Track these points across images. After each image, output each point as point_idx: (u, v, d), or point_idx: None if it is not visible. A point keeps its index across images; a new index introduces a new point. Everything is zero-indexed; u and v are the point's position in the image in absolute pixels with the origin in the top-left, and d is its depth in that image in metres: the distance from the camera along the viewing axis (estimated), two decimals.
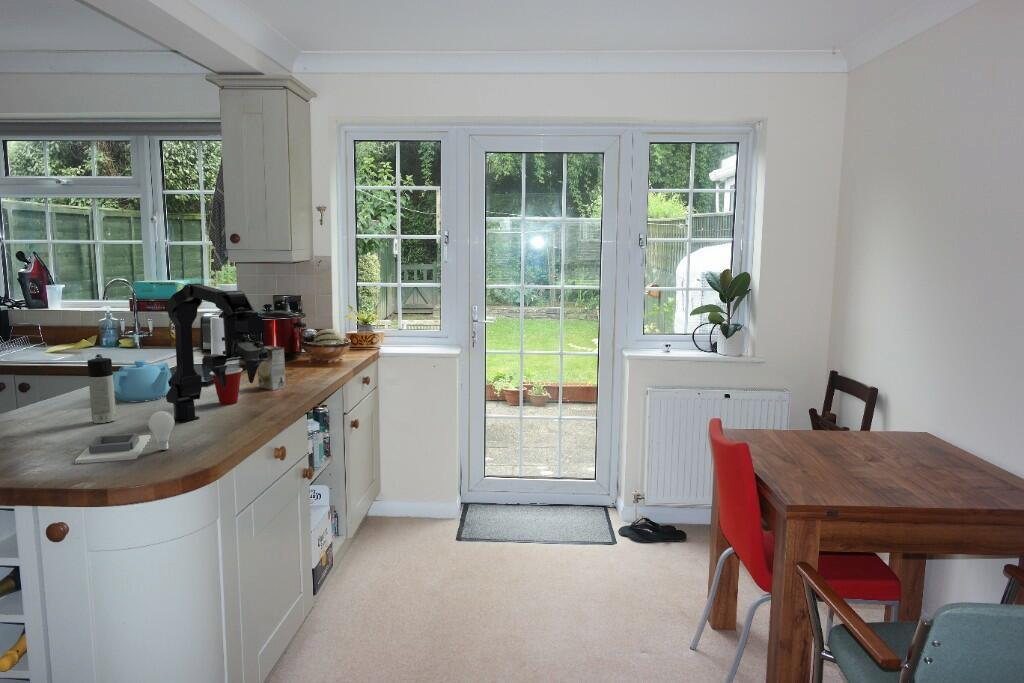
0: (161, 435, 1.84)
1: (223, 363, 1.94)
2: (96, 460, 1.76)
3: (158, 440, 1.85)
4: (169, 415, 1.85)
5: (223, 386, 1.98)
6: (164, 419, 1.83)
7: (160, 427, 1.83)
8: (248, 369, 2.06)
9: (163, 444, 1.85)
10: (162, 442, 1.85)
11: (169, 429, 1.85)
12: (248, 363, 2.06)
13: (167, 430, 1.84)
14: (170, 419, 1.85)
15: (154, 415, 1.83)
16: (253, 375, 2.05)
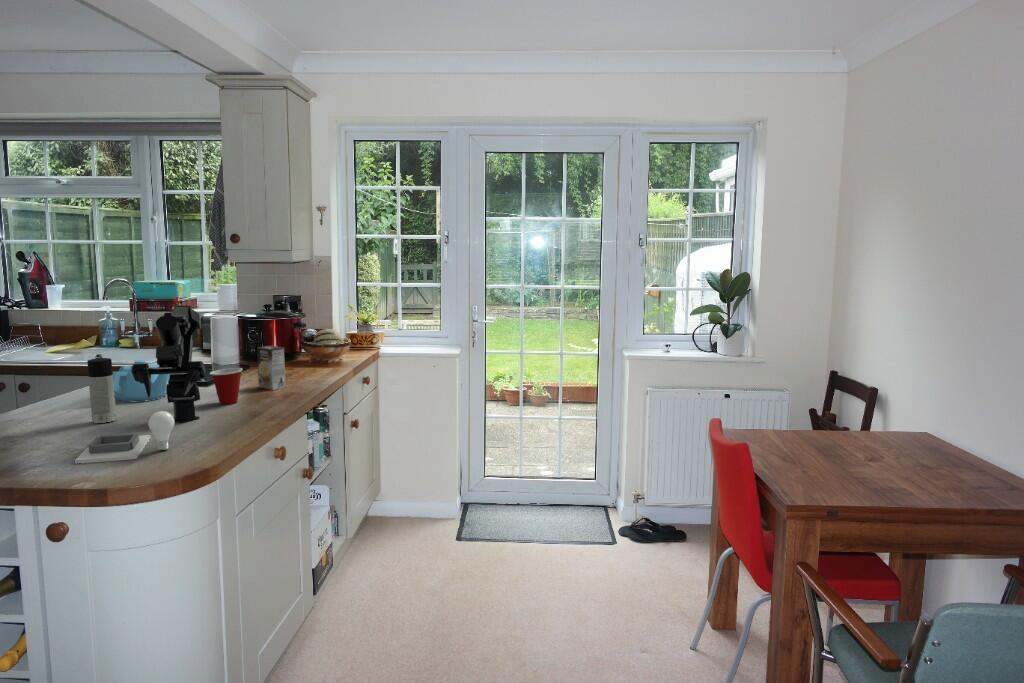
0: (161, 435, 1.84)
1: (142, 367, 1.93)
2: (96, 460, 1.76)
3: (158, 440, 1.85)
4: (169, 415, 1.85)
5: (147, 394, 1.91)
6: (164, 419, 1.83)
7: (160, 427, 1.83)
8: None
9: (163, 444, 1.85)
10: (162, 442, 1.85)
11: (169, 429, 1.85)
12: None
13: (167, 430, 1.84)
14: (170, 419, 1.85)
15: (154, 415, 1.83)
16: (185, 386, 1.94)
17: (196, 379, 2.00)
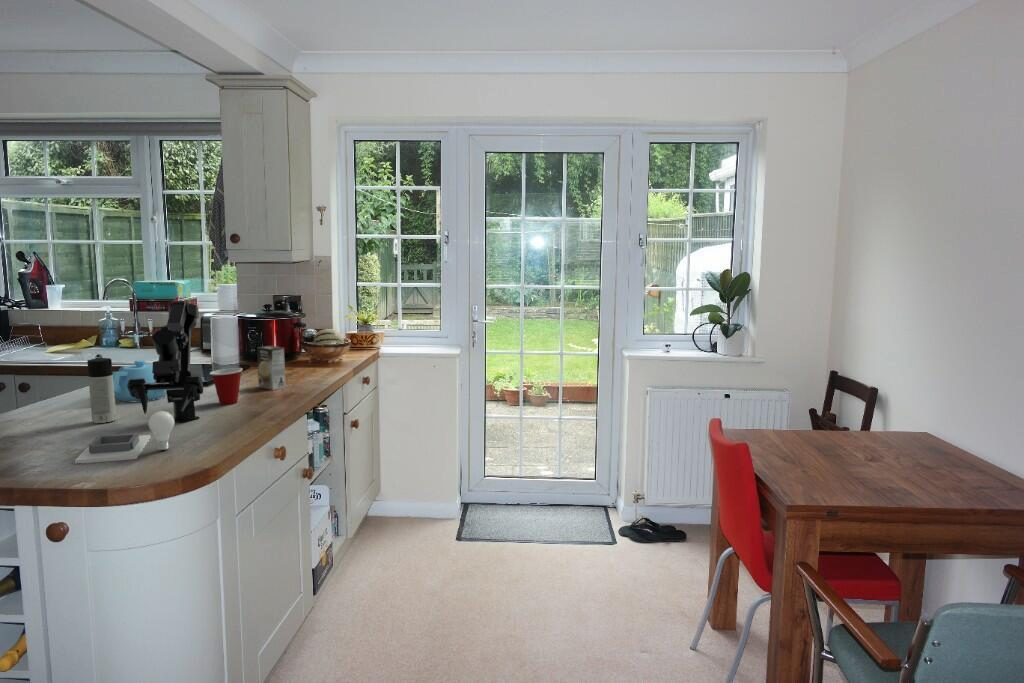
0: (161, 435, 1.84)
1: (138, 383, 1.88)
2: (96, 460, 1.76)
3: (158, 440, 1.85)
4: (169, 415, 1.85)
5: (143, 410, 1.87)
6: (164, 419, 1.83)
7: (160, 427, 1.83)
8: None
9: (163, 444, 1.85)
10: (162, 442, 1.85)
11: (169, 429, 1.85)
12: None
13: (167, 430, 1.84)
14: (170, 419, 1.85)
15: (154, 415, 1.83)
16: (182, 401, 1.90)
17: (194, 394, 1.95)
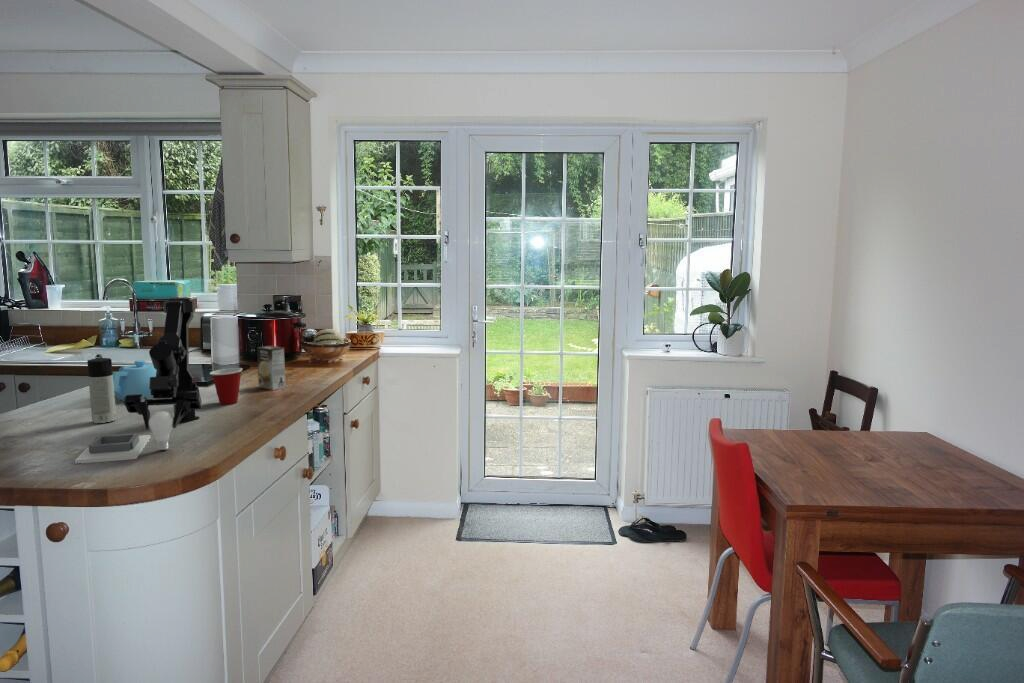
0: (161, 435, 1.84)
1: (135, 399, 1.85)
2: (96, 460, 1.76)
3: (158, 440, 1.85)
4: (169, 415, 1.85)
5: None
6: (164, 419, 1.83)
7: (160, 427, 1.83)
8: None
9: (163, 444, 1.85)
10: (162, 442, 1.85)
11: (169, 429, 1.85)
12: None
13: (167, 430, 1.84)
14: (170, 419, 1.85)
15: (154, 415, 1.83)
16: (175, 418, 1.86)
17: (187, 410, 1.91)
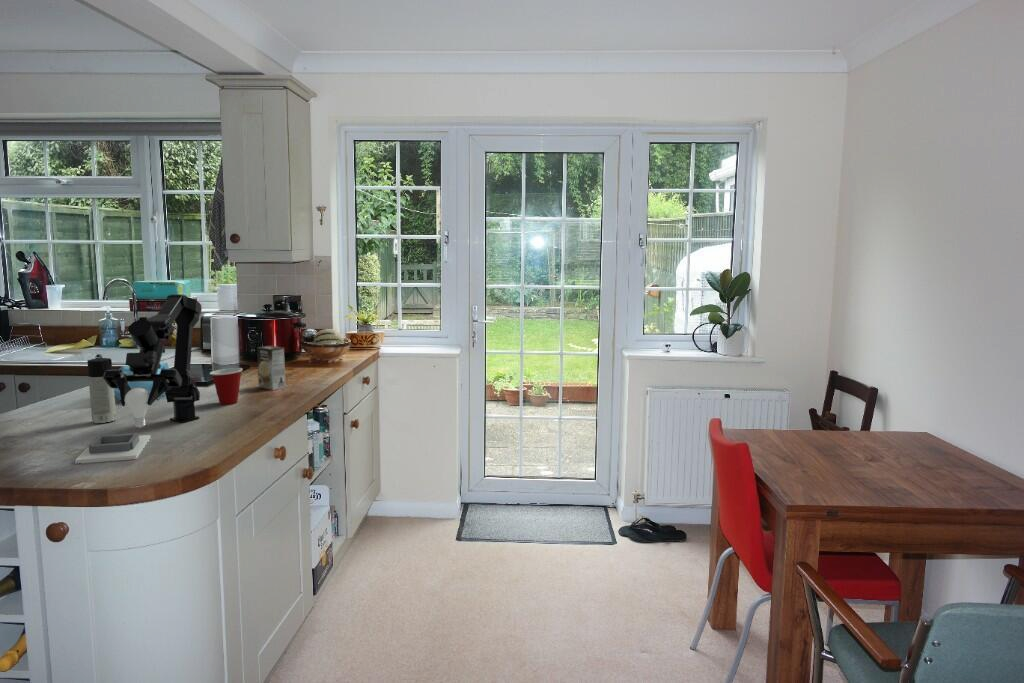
0: (136, 412, 1.83)
1: (113, 374, 1.84)
2: (96, 460, 1.76)
3: (134, 417, 1.83)
4: (144, 392, 1.83)
5: None
6: (138, 395, 1.81)
7: (134, 403, 1.81)
8: None
9: (139, 421, 1.84)
10: (138, 419, 1.84)
11: (144, 406, 1.83)
12: None
13: (141, 407, 1.82)
14: (144, 396, 1.82)
15: (129, 391, 1.82)
16: (150, 395, 1.84)
17: (166, 388, 1.89)
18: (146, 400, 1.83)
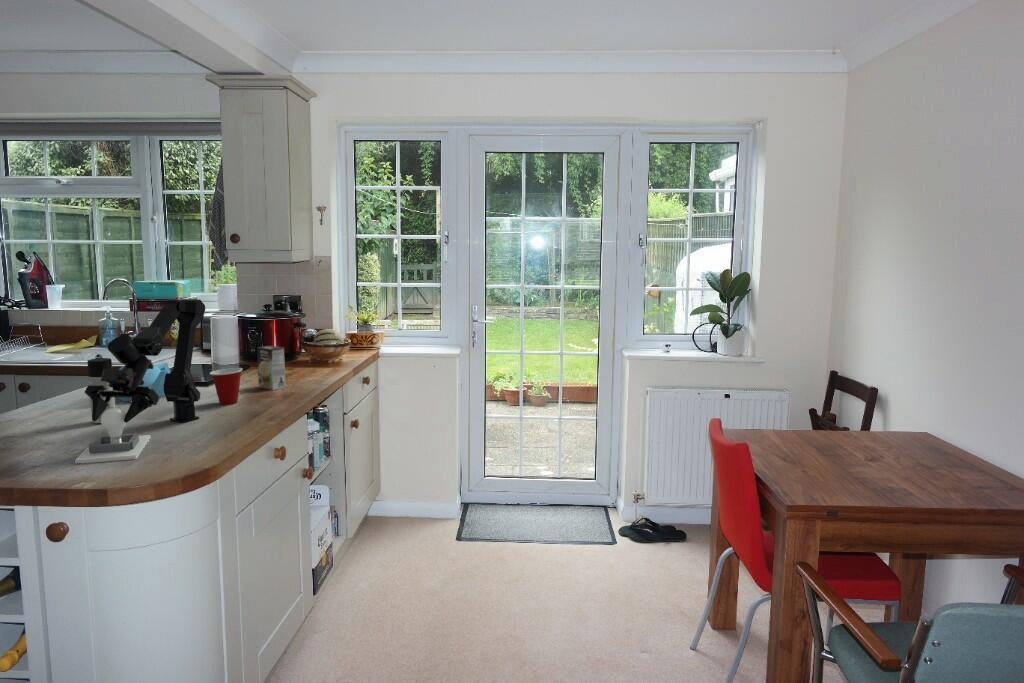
0: (110, 432, 1.84)
1: (93, 389, 1.87)
2: (96, 460, 1.76)
3: None
4: (119, 412, 1.84)
5: None
6: (111, 416, 1.82)
7: (107, 423, 1.82)
8: None
9: (114, 441, 1.85)
10: (113, 438, 1.85)
11: (118, 426, 1.83)
12: None
13: (115, 427, 1.83)
14: (118, 417, 1.83)
15: (105, 411, 1.83)
16: (127, 412, 1.84)
17: (146, 405, 1.88)
18: (120, 420, 1.83)
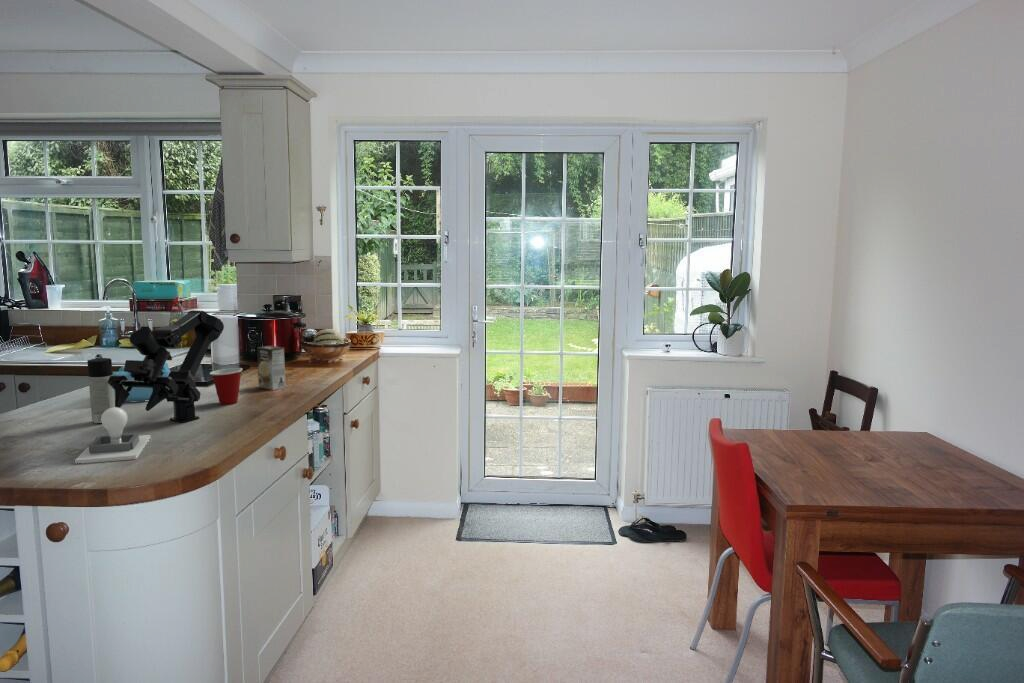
0: (111, 431, 1.84)
1: (116, 379, 1.96)
2: (96, 460, 1.76)
3: (110, 436, 1.85)
4: (119, 412, 1.84)
5: None
6: (112, 415, 1.82)
7: (107, 423, 1.82)
8: None
9: (114, 440, 1.85)
10: (113, 438, 1.85)
11: (118, 426, 1.84)
12: None
13: (115, 427, 1.83)
14: (118, 416, 1.83)
15: (105, 411, 1.84)
16: (149, 401, 1.93)
17: (166, 394, 1.97)
18: (120, 420, 1.83)
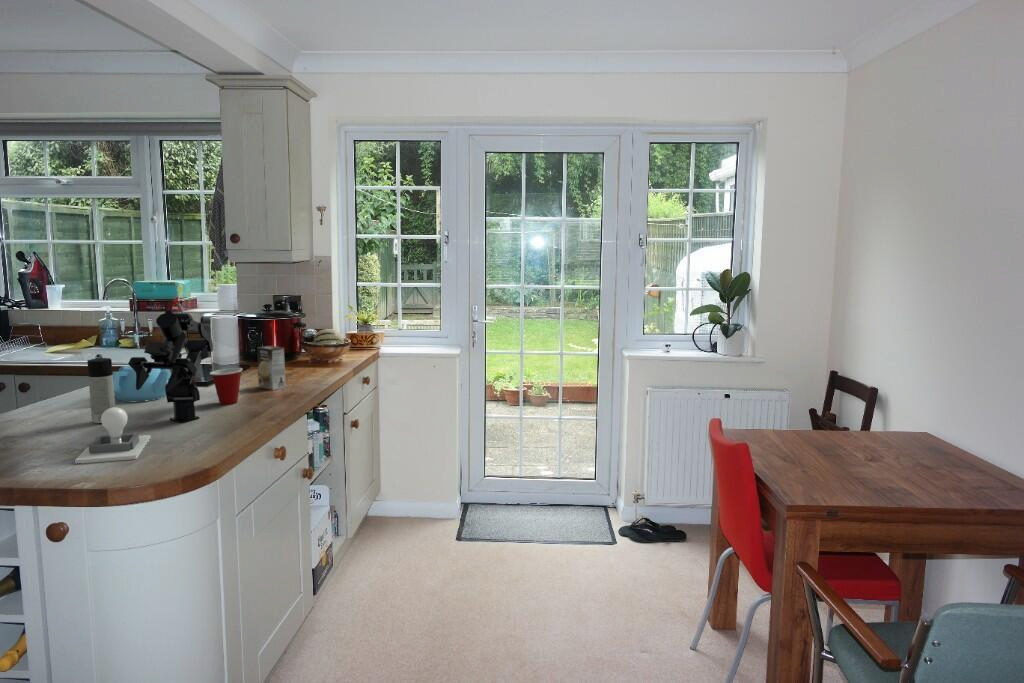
0: (111, 431, 1.84)
1: (136, 361, 2.02)
2: (96, 460, 1.76)
3: (110, 436, 1.85)
4: (119, 412, 1.84)
5: None
6: (112, 415, 1.82)
7: (107, 423, 1.82)
8: None
9: (114, 441, 1.85)
10: (113, 438, 1.85)
11: (118, 426, 1.84)
12: None
13: (115, 427, 1.83)
14: (118, 416, 1.83)
15: (105, 411, 1.83)
16: (169, 381, 2.00)
17: (185, 376, 2.04)
18: (120, 420, 1.83)
